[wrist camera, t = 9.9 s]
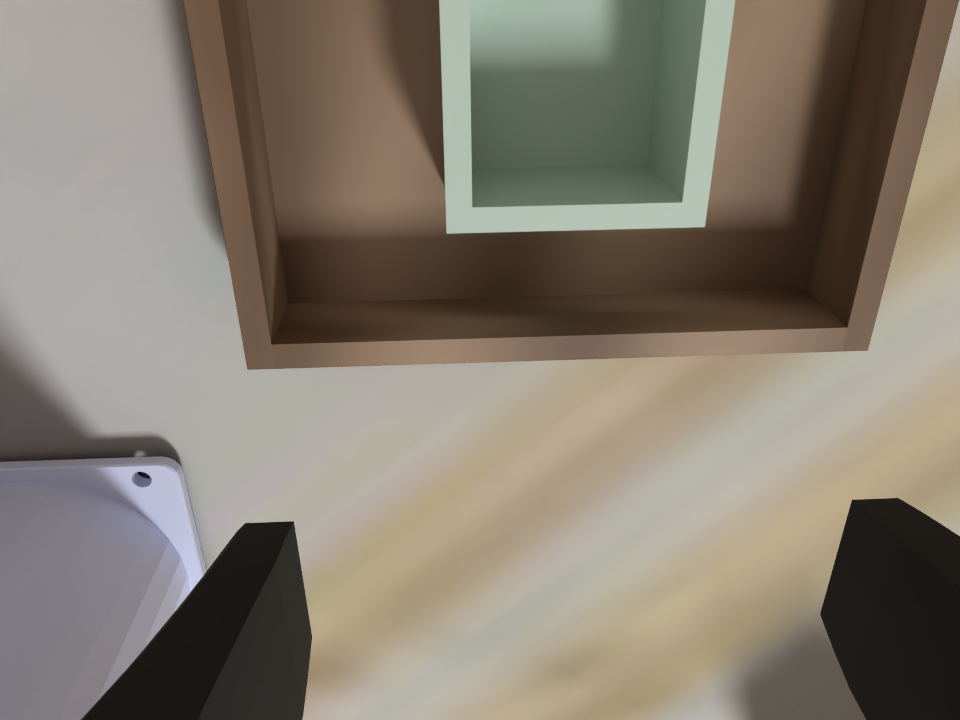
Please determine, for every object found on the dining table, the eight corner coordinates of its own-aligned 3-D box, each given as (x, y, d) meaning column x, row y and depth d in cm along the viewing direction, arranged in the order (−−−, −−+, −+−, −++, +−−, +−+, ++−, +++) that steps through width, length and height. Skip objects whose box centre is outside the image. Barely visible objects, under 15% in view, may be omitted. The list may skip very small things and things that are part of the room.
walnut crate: (271, 316, 19) (247, 369, 17) (156, -446, 13) (89, -540, 10) (814, 300, 20) (867, 350, 18) (974, -439, 13) (1095, -525, 11)
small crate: (445, 186, 18) (446, 233, 15) (433, -187, 14) (432, -220, 11) (662, 182, 18) (704, 227, 15) (700, -189, 14) (765, -221, 12)
